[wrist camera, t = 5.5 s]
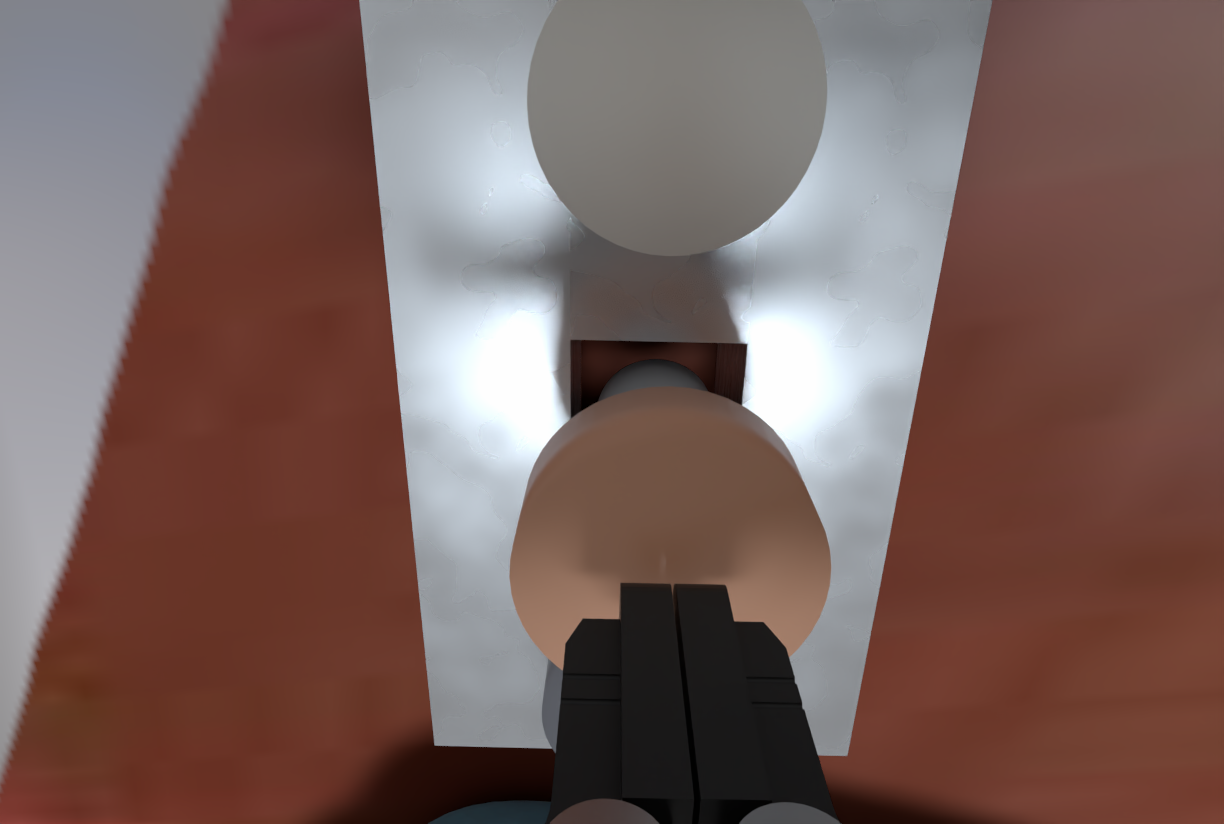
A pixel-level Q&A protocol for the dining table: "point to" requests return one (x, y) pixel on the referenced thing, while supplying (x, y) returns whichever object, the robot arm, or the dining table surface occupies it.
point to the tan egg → (666, 511)
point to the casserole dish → (499, 813)
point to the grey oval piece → (676, 116)
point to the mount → (651, 317)
